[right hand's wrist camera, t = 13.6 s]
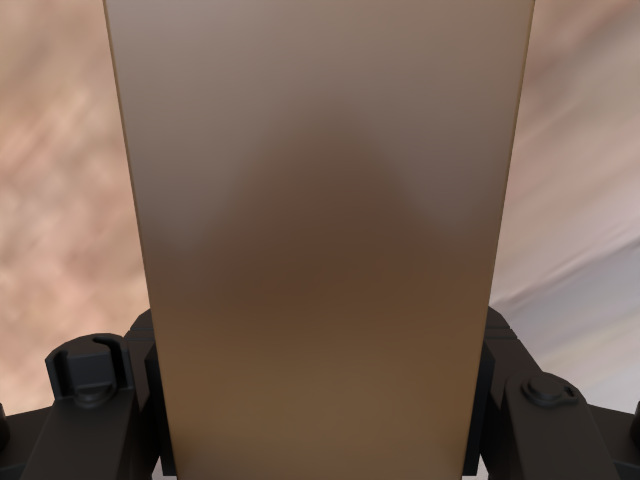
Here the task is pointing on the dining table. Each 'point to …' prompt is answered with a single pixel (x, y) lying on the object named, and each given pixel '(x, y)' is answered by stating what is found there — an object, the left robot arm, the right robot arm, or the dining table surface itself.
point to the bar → (319, 223)
